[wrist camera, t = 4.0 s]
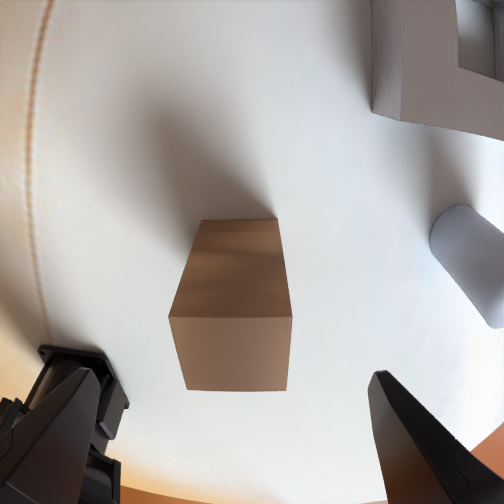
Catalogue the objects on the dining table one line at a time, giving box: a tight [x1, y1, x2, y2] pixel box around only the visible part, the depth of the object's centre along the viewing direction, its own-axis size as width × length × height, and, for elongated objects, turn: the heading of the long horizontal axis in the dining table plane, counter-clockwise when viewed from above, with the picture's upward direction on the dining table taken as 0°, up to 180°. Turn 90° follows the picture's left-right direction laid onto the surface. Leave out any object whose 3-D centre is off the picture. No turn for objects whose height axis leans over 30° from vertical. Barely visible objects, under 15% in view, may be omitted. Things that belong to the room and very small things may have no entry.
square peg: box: [168, 219, 292, 392], centre depth 13 cm, size 4×4×7 cm
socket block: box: [371, 0, 504, 141], centre depth 9 cm, size 10×10×3 cm
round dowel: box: [429, 205, 504, 328], centre depth 13 cm, size 4×4×6 cm
